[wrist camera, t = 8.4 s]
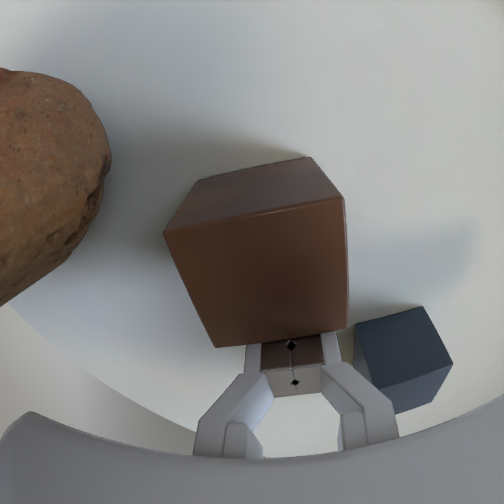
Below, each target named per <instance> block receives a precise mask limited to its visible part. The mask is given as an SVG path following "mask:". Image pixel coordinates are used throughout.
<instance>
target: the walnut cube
mask: <svg viewBox="0 0 504 504" xmlns="http://www.w3.org/2000/svg"><path fill="white" fill-rule="evenodd" d="M163 236H164V238H165V241H166V243H167V246H168V248H169V250H170V253H171V255H172V258H173V260H174V262H175V265H176V267H177V269H178V271H179V274H180V276H181V278H182V280H183V283H184V285H185V287H186V289H187V291H188V294H189V296H190V298H191V300H192V302H193V304H194V307H195V309H196V311H197V313H198V315H199V317H200V319H201V321H202V323H203V325H204V327H205V329H206V331H207V333H208V335H209V337H210V339H211V341H212V343H213V345H214V347H215V348H221V347H231V346H240V345H249V344H257V343H265V342H272V341H280V340H286V339H293V338H299V337H305V336H311V335H316V334H322V333H327V332H332V331H338V330H343V329H346V328H348V318H349V276H348V246H347V228H346V213H345V201H344V198H343V196H342V195H341V194H340V192H339V191H338V190H337V188H336V187H335V186H334V185H333V183H332V182H331V181H330V180H329V178H328V177H327V176H326V175H325V173H324V172H323V171H322V170H321V168H320V167H319V166H318V165H317V164H316V162H315V161H314V160H313V159H312V158H311V157H306V158H300V159H294V160H288V161H283V162H277V163H272V164H267V165H262V166H257V167H252V168H247V169H242V170H238V171H233V172H229V173H225V174H220V175H216V176H212V177H208V178H204V179H200V180H198V181H197V182H196V184H195V185H194V186H193V188H192V189H191V191H190V192H189V194H188V195H187V197H186V198H185V199H184V201H183V202H182V204H181V205H180V207H179V208H178V210H177V211H176V213H175V214H174V216H173V217H172V219H171V221H170V222H169V224H168V225H167V227H166V228H165V230H164V231H163Z"/></svg>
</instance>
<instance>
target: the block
mask: <svg viewBox="0 0 504 504" xmlns="http://www.w3.org/2000/svg"><path fill="white" fill-rule="evenodd" d="M110 166H111V150H110V147H109V144H108V141H107V137H106V134H105V131H104V127H103V125H102V123H101V121H100V119H99V118H98V116H97V115H96V113H95V112H94V111H93V109H92V106H91V103H90V102H89V101H88V100H87V98H86V97H85V96H84V95H83V94H82V93H81V91H80V90H78V89H77V88H76V87H75V86H73V85H71V84H69V83H67V82H65V81H63V80H60V79H57V78H54V77H51V76H47V75H44V74H40V73H33V72H24V71H10V70H7V69H5V68H0V307H1V306H2V305H4V304H5V303H6V302H8V301H9V300H11V299H12V298H14V297H15V296H17V295H18V294H19V293H21V292H22V291H24V290H25V289H27V288H28V287H30V286H31V285H32V284H34V283H35V282H37V281H38V280H40V279H41V278H42V277H44V276H45V275H47V274H48V273H50V272H51V271H53V270H54V269H55V268H57V267H58V266H60V265H61V264H62V263H64V262H65V261H66V260H67V259H68V257H69V256H70V255H71V253H72V251H73V250H74V249H75V248H76V247H77V246H78V244H79V243H80V241H81V240H82V238H83V237H84V235H85V234H86V232H87V229H88V227H89V225H90V223H91V222H92V221H93V220H94V218H95V216H96V214H97V212H98V210H99V206H100V202H101V198H102V193H103V178H104V177H105V175H106V174H107V173H108V172H109V171H110Z"/></svg>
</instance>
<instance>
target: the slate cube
mask: <svg viewBox="0 0 504 504" xmlns="http://www.w3.org/2000/svg"><path fill="white" fill-rule="evenodd" d="M452 365H453V362H452V360H451V358H450V356H449V354H448V352H447V350H446V348H445V346H444V344H443V342H442V340H441V338H440V336H439V334H438V332H437V330H436V328H435V327H434V325H433V323H432V321H431V319H430V318H429V316H428V314H427V312H426V311H425V309H424V307H419V308H416V309H412V310H409V311H405V312H402V313H398V314H394V315H391V316H387V317H383V318H379V319H375V320H371V321H367V322H363V323H358V324H355V340H354V360H353V368H354V369H355V370H356V371H358V372H359V373H360V374H361V375H362V376H363V377H364V378H365V379H367V380H368V381H369V382H370V383H371V384H372V385H373V386H375V387H376V388H377V389H378V390H379V391H380V392H381V393H383V394H384V395H385V396H386V397H387V398H388V399H389V400H391V401H392V405H393V409H394V413H395V414H399V413H402V412H405V411H408V410H411V409H414V408H416V407H419V406H422V405H425V404H427V403H430V402H432V400H433V399H434V397H435V395H436V394H437V392H438V390H439V389H440V387H441V385H442V384H443V382H444V380H445V378H446V377H447V375H448V373H449V371H450V369H451V367H452Z"/></svg>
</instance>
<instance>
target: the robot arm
mask: <svg viewBox="0 0 504 504" xmlns="http://www.w3.org/2000/svg"><path fill="white" fill-rule="evenodd" d="M320 392H322V394H323V395H324V397H325V398H326V399H327V400H328V401H329V403H330V404H331V405H332V406H333V407H334V409H335V410H336V411H337V412H338V413H339V414H340V416H341V417H340V424H339V432H338V439H337V442H338V451H337V452H330V453H323V454H315V455H306V456H295V457H280V458H263V447H262V445H261V444H260V442H259V441H258V440H257V438H256V437H255V435H254V434H253V431H254V430H255V428H256V427H257V425H258V424H259V422H260V421H261V419H262V418H263V416H264V415H265V413H266V412H267V410H268V409H269V407H270V405H271V404H272V402H273V401H274V398H276V397H285V396H293V395H302V394H312V393H320ZM0 504H504V394H502V395H500V396H499V397H497V398H495V399H493V400H491V401H489V402H487V403H486V404H484V405H482V406H480V407H478V408H476V409H473V410H471V411H469V412H467V413H465V414H463V415H460V416H458V417H456V418H453V419H451V420H449V421H446V422H444V423H441V424H439V425H436V426H433V427H430V428H428V429H425V430H422V431H419V432H416V433H413V434H410V435H406V436H403V437H400V436H399V432H398V427H397V422H396V418H395V413H394V409H393V405H392V401H391V400H389V399H388V398H387V397H386V396H385V395H384V394H383V393H381V392H380V391H379V390H378V389H377V388H376V387H375V386H373V385H372V384H371V383H370V382H369V381H368V380H367V379H365V378H364V377H363V376H362V375H361V374H360V373H359V372H358V371H356V370H355V369H354V368H353V367H352V366H351V365H350V364H349V363H347V362H346V361H344V362H342V361H341V356H340V350H339V345H338V340H337V336H336V331H332V332H327V333H322V334H316V335H311V336H305V337H299V338H293V339H286V340H280V341H272V342H265V343H257V344H249V345H246V353H245V363H244V374H239V375H238V376H237V377H236V379H235V380H234V381H233V382H232V383H231V384H230V386H229V387H228V388H227V389H226V390H225V391H224V393H223V394H222V395H221V396H220V397H219V398H218V399H217V401H216V402H215V403H214V404H213V405H212V406H211V407H210V408H209V410H208V411H207V412H206V413H205V414H204V415H203V416H202V417H201V418H200V420H199V421H198V427H197V432H196V438H195V443H194V449H193V455H187V454H179V453H172V452H166V451H160V450H154V449H149V448H143V447H139V446H134V445H130V444H125V443H121V442H118V441H114V440H110V439H106V438H103V437H100V436H96V435H92V434H90V433H87V432H84V431H81V430H78V429H75V428H72V427H69V426H66V425H64V424H61V423H59V422H56V421H54V420H52V419H49V418H47V417H45V416H42V415H40V414H38V413H35V412H31V411H30V412H27V413H25V414H24V415H22V416H21V417H20V418H18V419H17V420H16V421H14V422H13V423H12V424H11V425H10V426H9V427H8V428H7V429H6V431H5V432H4V434H3V436H2V438H1V440H0Z"/></svg>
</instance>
